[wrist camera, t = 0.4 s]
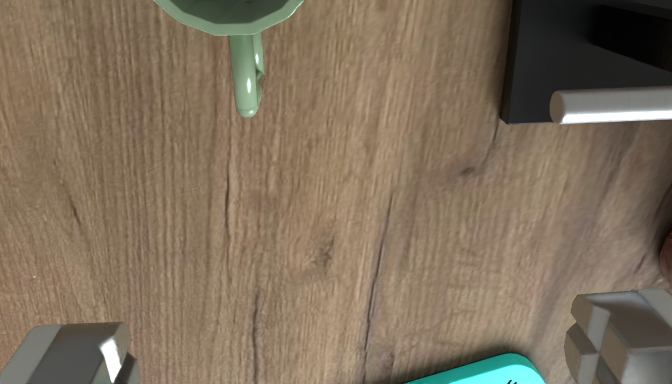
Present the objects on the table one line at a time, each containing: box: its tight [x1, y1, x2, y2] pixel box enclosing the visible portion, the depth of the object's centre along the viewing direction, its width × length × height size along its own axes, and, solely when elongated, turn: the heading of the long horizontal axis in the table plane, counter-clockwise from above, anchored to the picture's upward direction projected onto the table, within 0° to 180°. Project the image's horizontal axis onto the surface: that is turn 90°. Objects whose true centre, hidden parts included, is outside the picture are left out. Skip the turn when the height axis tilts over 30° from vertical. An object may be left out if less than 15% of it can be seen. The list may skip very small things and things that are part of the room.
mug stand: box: [500, 0, 672, 125], centre depth 21 cm, size 10×14×16 cm
